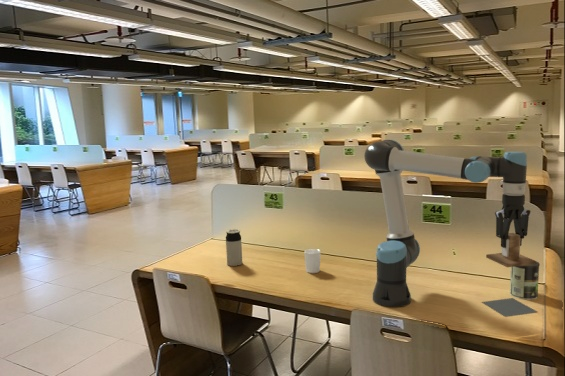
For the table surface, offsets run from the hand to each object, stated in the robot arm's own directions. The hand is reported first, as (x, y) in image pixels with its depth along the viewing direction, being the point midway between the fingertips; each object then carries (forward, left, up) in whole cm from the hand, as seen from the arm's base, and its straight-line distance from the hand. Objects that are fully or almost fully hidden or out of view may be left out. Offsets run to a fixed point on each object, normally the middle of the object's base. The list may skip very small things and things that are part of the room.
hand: (510, 254), depth 174 cm
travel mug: (-96, +87, -21) cm, 131 cm away
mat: (0, 0, -21) cm, 21 cm away
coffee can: (+14, +9, -21) cm, 27 cm away
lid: (0, 0, -2) cm, 2 cm away
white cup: (-60, +64, -21) cm, 90 cm away
